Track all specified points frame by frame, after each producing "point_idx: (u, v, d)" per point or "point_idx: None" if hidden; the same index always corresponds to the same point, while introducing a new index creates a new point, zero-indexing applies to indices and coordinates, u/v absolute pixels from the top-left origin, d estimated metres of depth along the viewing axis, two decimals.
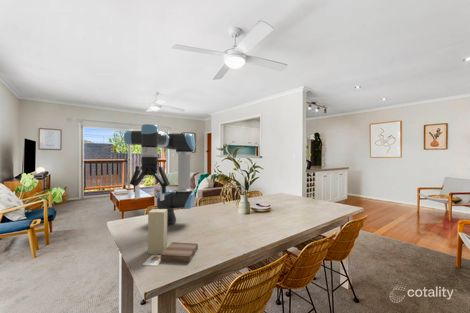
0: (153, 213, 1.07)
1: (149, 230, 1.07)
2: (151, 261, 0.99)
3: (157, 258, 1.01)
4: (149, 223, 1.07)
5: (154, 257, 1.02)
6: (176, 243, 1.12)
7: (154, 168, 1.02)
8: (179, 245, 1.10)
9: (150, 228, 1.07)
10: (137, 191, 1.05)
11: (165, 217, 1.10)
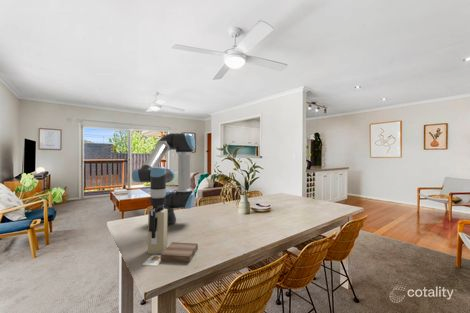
0: None
1: None
2: (151, 261, 0.99)
3: (157, 258, 1.01)
4: None
5: (154, 257, 1.02)
6: (176, 243, 1.12)
7: None
8: (179, 245, 1.10)
9: None
10: None
11: (165, 217, 1.10)
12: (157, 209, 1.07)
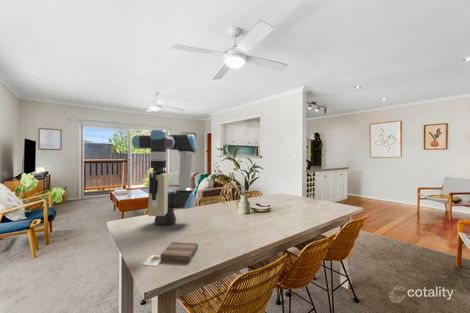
0: None
1: (149, 193, 1.07)
2: (151, 261, 0.99)
3: (157, 258, 1.01)
4: None
5: (154, 257, 1.02)
6: (176, 243, 1.12)
7: None
8: (179, 245, 1.10)
9: None
10: None
11: (165, 180, 1.10)
12: (157, 172, 1.07)
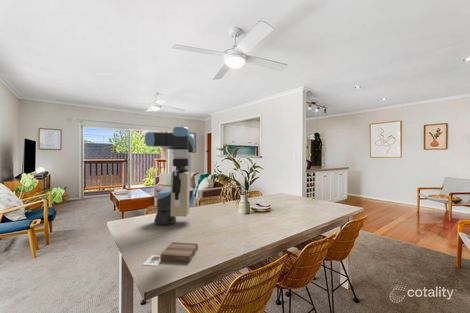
0: None
1: None
2: (151, 261, 0.99)
3: (157, 258, 1.01)
4: (172, 184, 1.02)
5: (154, 257, 1.02)
6: (176, 243, 1.12)
7: None
8: (179, 245, 1.10)
9: None
10: None
11: (188, 179, 1.05)
12: (180, 170, 1.02)
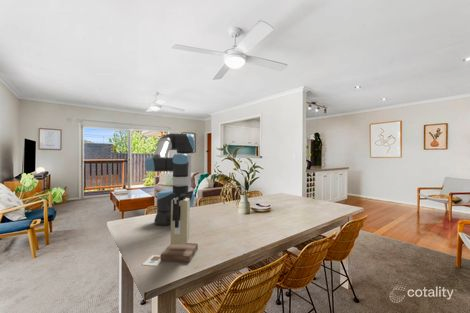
0: None
1: None
2: (151, 261, 0.99)
3: (157, 258, 1.01)
4: (172, 212, 1.02)
5: (154, 257, 1.02)
6: None
7: None
8: (179, 245, 1.10)
9: None
10: None
11: (188, 206, 1.06)
12: (180, 197, 1.03)
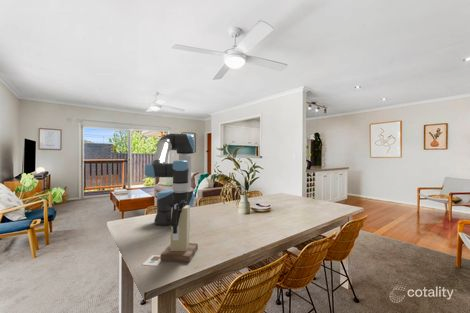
0: None
1: (172, 227, 1.03)
2: (151, 261, 0.99)
3: (157, 258, 1.01)
4: None
5: (154, 257, 1.02)
6: None
7: None
8: None
9: None
10: None
11: (188, 213, 1.06)
12: (180, 204, 1.03)
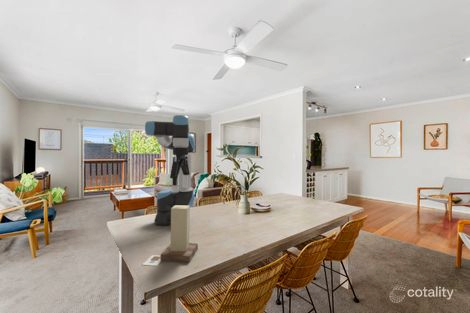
0: (176, 209, 1.03)
1: (172, 227, 1.03)
2: (151, 261, 0.99)
3: (157, 258, 1.01)
4: (172, 220, 1.03)
5: (154, 257, 1.02)
6: None
7: None
8: None
9: (173, 224, 1.03)
10: (183, 180, 1.12)
11: (188, 214, 1.06)
12: (180, 159, 1.03)
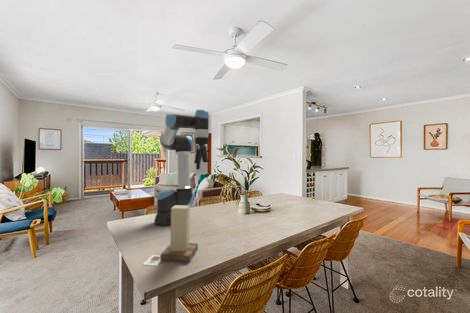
0: (176, 209, 1.03)
1: (172, 227, 1.03)
2: (151, 261, 0.99)
3: (157, 258, 1.01)
4: (172, 220, 1.03)
5: (154, 257, 1.02)
6: None
7: None
8: None
9: (173, 224, 1.03)
10: (203, 166, 1.29)
11: (188, 214, 1.06)
12: (202, 147, 1.20)
